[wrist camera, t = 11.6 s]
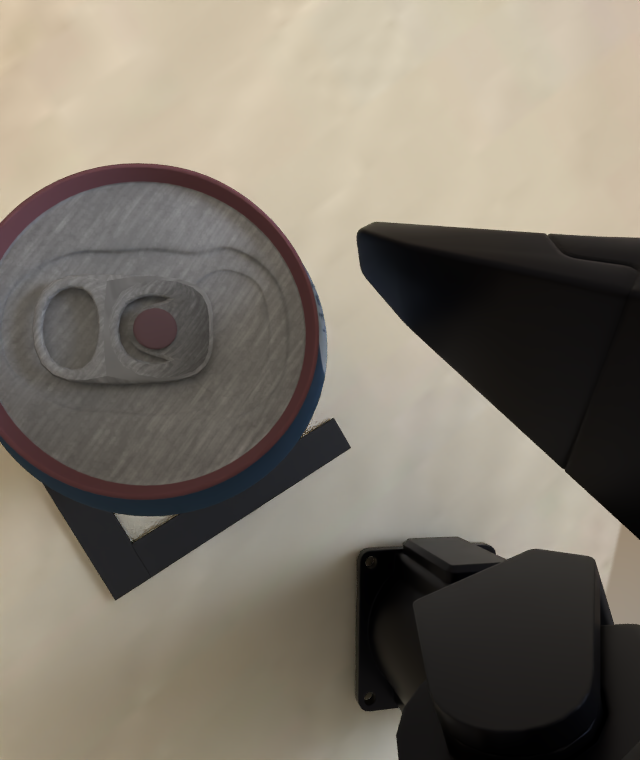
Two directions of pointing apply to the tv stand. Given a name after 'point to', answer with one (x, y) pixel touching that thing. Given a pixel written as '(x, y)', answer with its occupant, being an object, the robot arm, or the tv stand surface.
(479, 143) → the tv stand surface
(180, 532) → the tape square
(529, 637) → the robot arm
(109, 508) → the soda can
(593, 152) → the tv stand surface
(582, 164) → the tv stand surface
